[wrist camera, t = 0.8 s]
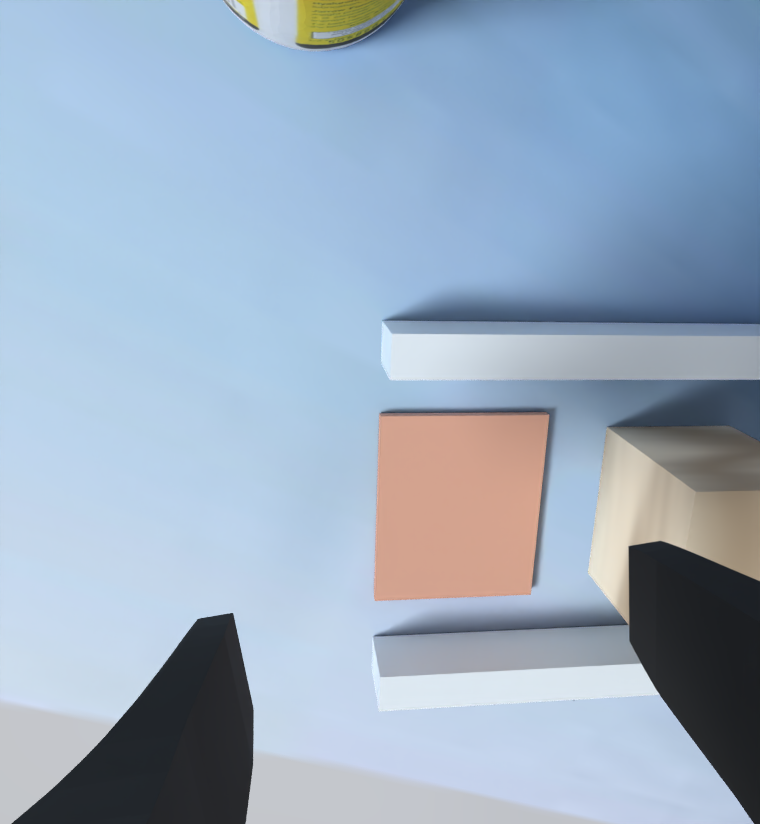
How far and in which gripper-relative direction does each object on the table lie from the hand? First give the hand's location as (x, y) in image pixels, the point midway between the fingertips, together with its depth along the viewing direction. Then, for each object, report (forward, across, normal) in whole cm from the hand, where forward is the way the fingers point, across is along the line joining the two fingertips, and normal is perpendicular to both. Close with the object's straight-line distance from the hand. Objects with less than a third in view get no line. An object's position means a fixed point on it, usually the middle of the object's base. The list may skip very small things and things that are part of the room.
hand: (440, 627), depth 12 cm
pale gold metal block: (+9, -8, +3) cm, 13 cm away
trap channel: (+9, -8, +3) cm, 12 cm away
